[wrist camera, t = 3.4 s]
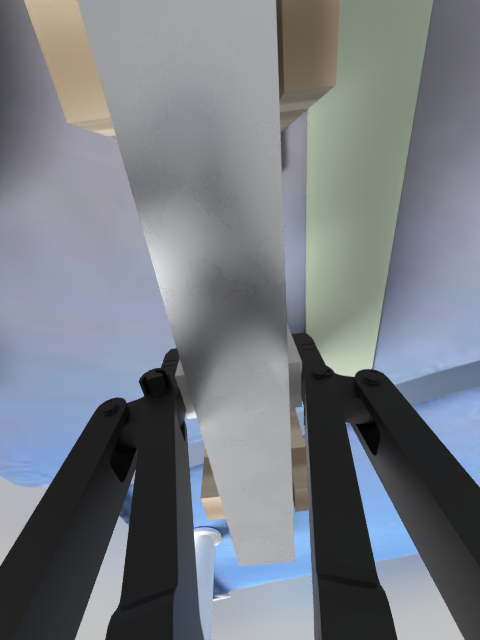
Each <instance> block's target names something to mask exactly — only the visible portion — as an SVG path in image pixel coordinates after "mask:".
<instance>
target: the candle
mask: <svg viewBox="0 0 480 640" xmlns="http://www.w3.org/2000/svg"><path fill="white" fill-rule="evenodd" d="M221 539H222V535H221V533H220V532H219V531H218V530H216V529H213V528H209V527H199V528H195V529H194V541H195V555H196V569H197V584H198V598H199V611H200V620H201V626H202V631H203V636H204V640H211V624H212V600H213V576H214V552H215V546H216V545H218V544H219V543H220V542H221Z"/></svg>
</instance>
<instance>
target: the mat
mask: <svg viewBox="0 0 480 640" xmlns="http://www.w3.org/2000/svg"><path fill="white" fill-rule="evenodd" d="M432 6H433V0H340V8H339V29H338V50H337V71H336V86H334V87H333V88H332V89H331V90H330V91H328V92H327V93H326V94H325V95H324V96H323V97H321V98H320V99H319V100H318V101H317V102H315V103H314V104H313V105H312V106H311V107H310V108H308V109H307V180H306V333H307V334H308V335H309V336H311V337H312V338H313V340H314V342H315V344H316V346H317V349H318V350H319V352H320V354H321V356H322V358H323V360H324V362H325V364H326V366H328V367H330V368H331V369H332V370H333V371H334V373H336V374H339V375H343V376H351V377H355V374H356V373H357V372H358V371H360V370H363V369H372V366H373V360H374V354H375V348H376V342H377V336H378V330H379V324H380V318H381V312H382V306H383V300H384V294H385V288H386V282H387V276H388V270H389V264H390V258H391V252H392V246H393V240H394V234H395V228H396V222H397V216H398V210H399V204H400V198H401V192H402V186H403V180H404V174H405V168H406V162H407V156H408V150H409V144H410V138H411V132H412V126H413V120H414V114H415V108H416V102H417V96H418V90H419V84H420V78H421V72H422V66H423V60H424V54H425V48H426V42H427V36H428V30H429V24H430V18H431V12H432Z"/></svg>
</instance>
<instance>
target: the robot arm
mask: <svg viewBox="0 0 480 640" xmlns="http://www.w3.org/2000/svg"><path fill="white" fill-rule="evenodd" d="M287 342H288V372H289V401H290V408H293V407H302V401H303V404H304V425H305V443H306V463H307V483H308V503H309V523H310V543H311V563H312V584H313V603H314V638H315V640H397V636H396V631H395V627H394V622H393V618H392V614H391V610H390V606H389V602H388V599H387V596H386V593H385V591H384V590H383V588H382V586H381V585H380V582H379V579H378V576H377V572H376V567H375V562H374V558H373V553H372V548H371V543H370V538H369V534H368V529H367V524H366V519H365V514H364V510H363V505H362V500H361V495H360V491H359V486H358V481H357V476H356V471H355V467H354V462H353V457H352V452H351V447H350V443H349V438H348V433H347V428H346V424H345V422H348V423H350V424H351V426H352V427H353V429H354V431H355V433H356V435H357V437H358V439H359V441H360V443H361V444H362V446H363V448H364V450H365V452H366V454H367V456H368V458H369V460H370V461H371V463H372V465H373V467H374V469H375V471H376V473H377V475H378V477H379V478H380V480H381V482H382V484H383V486H384V488H385V490H386V492H387V494H388V496H389V497H390V499H391V501H392V503H393V505H394V507H395V509H396V511H397V513H398V514H399V516H400V518H401V520H402V522H403V524H404V526H405V528H406V530H407V531H408V533H409V535H410V537H411V539H412V541H413V543H414V545H415V547H416V548H417V550H418V552H419V554H420V556H421V558H422V560H423V562H424V563H425V565H426V567H427V569H428V571H429V573H430V575H431V577H432V578H433V581H434V582H435V584H436V586H437V588H438V590H439V592H440V594H441V596H442V598H443V599H444V601H445V603H446V605H447V607H448V609H449V611H450V612H451V615H452V616H453V618H454V620H455V622H456V624H457V626H458V628H459V630H460V632H461V633H462V635H463V637H464V639H465V640H480V487H479V486H478V485H477V484H476V483H475V481H474V480H473V479H472V478H471V477H470V475H469V474H468V473H467V472H466V471H465V469H464V468H463V467H462V466H461V465H460V463H459V462H458V461H457V460H456V459H455V457H454V456H453V455H452V454H451V453H450V451H449V450H448V449H447V448H446V447H445V445H444V444H443V443H442V442H441V441H440V439H439V438H438V437H437V436H436V435H435V433H434V432H433V431H432V430H431V429H430V427H429V426H428V425H427V424H426V423H425V421H424V420H423V419H422V418H421V417H420V416H419V414H418V413H417V412H416V411H415V410H414V408H413V407H412V406H411V405H410V404H409V402H408V401H407V400H406V399H405V398H404V397H403V395H402V394H401V393H400V392H399V390H398V389H397V388H396V387H395V386H394V384H393V383H392V382H391V381H390V380H389V378H388V377H387V376H386V375H384V374H383V373H381V372H379V371H377V370H372V369H363V370H360V371H358V372H357V373H356V374H355V377H351V376H343V375H339V374H336V373H334V371H333V370H332V369H331V368H330V367H328V366H326V364H325V362H324V360H323V358H322V356H321V354H320V352H319V350H318V349H317V346H316V344H315V342H314V340H313V338H312V337H311V336H309V335H308V334H307V333H299V334H291V332H290V329H289V327H288V324H287ZM139 383H140V386H141V388H142V391H143V393H144V397H142V398H140V399H138V400H135V401H132V402H129V403H126V401H125V400H124V399H123V398H112V399H110V400H107V401H105V402H104V403H102V404H101V405H100V406H99V407H98V408H97V409H96V411H95V412H94V414H93V416H92V417H91V419H90V421H89V422H88V424H87V425H86V427H85V429H84V430H83V432H82V434H81V435H80V437H79V438H78V440H77V442H76V443H75V445H74V447H73V448H72V450H71V452H70V453H69V455H68V456H67V458H66V460H65V461H64V463H63V465H62V466H61V468H60V470H59V471H58V473H57V474H56V476H55V478H54V479H53V481H52V483H51V484H50V486H49V488H48V489H47V491H46V493H45V494H44V496H43V497H42V499H41V501H40V502H39V504H38V506H37V507H36V509H35V510H34V512H33V514H32V516H31V517H30V519H29V520H28V522H27V523H26V525H25V527H24V529H23V530H22V532H21V534H20V535H19V537H18V538H17V540H16V541H15V543H14V545H13V547H12V548H11V550H10V551H9V553H8V555H7V556H6V558H5V559H4V561H3V563H2V564H1V566H0V640H75V637H76V635H77V632H78V629H79V626H80V623H81V621H82V618H83V615H84V612H85V609H86V607H87V604H88V601H89V598H90V595H91V593H92V590H93V587H94V584H95V581H96V578H97V576H98V573H99V570H100V567H101V564H102V561H103V559H104V556H105V553H106V550H107V547H108V545H109V542H110V539H111V536H112V534H113V531H114V528H115V525H116V522H117V520H118V517H119V514H120V511H121V508H122V505H123V503H124V500H125V497H126V494H127V491H128V489H129V486H130V483H131V480H132V477H133V475H134V472H135V469H136V472H135V480H134V489H133V498H132V506H131V515H130V523H129V532H128V540H127V549H126V558H125V566H124V575H123V583H122V592H121V598H120V603H119V606H118V608H117V610H116V611H115V612H114V614H113V615H112V616H111V619H110V622H109V625H108V629H107V634H106V639H105V640H204V636H203V631H202V626H201V620H200V611H199V598H198V584H197V569H196V555H195V541H194V527H193V513H192V499H191V484H190V470H189V456H188V442H187V428H186V424H185V421H184V419H185V413H186V414H187V417H188V419H192V418H197V416H196V413H195V409H194V406H193V402H192V399H191V395H190V392H189V388H188V385H187V381H186V378H185V374H184V371H183V368H182V364H181V361H180V357H179V354H178V350H177V348H176V349H171V350H170V351H169V352H168V353H167V354H166V355H165V358H164V360H163V363H162V366H161V368H155V369H152V370H149V371H148V372H146V373H145V374H143V375H142V377H141V378H140V380H139Z"/></svg>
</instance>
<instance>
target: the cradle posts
mask: <svg viewBox="0 0 480 640" xmlns="http://www.w3.org/2000/svg"><path fill="white" fill-rule="evenodd" d="M24 2H25V5H26V8H27V10H28V13H29V16H30V19H31V22H32V25H33V27H34V30H35V33H36V36H37V39H38V41H39V44H40V47H41V50H42V53H43V56H44V58H45V61H46V64H47V67H48V70H49V72H50V75H51V78H52V81H53V84H54V87H55V89H56V92H57V95H58V98H59V101H60V103H61V106H62V109H63V112H64V115H65V118H66V120H67V123H68V124H71V125H74V126H77V127H80V128H84V129H87V130H90V131H93V132H96V133H99V134H103V135H106V136H109V137H112V138H115V139H117V138H116V134H115V131H114V127H113V124H112V120H111V117H110V113H109V110H108V106H107V103H106V99H105V96H104V93H103V89H102V86H101V82H100V79H99V75H98V72H97V68H96V65H95V61H94V58H93V54H92V51H91V47H90V44H89V40H88V37H87V33H86V30H85V26H84V23H83V19H82V16H81V12H80V9H79V6H78V2H77V0H24ZM339 8H340V0H276V17H277V46H278V76H279V106H280V132H281V131H282V130H284V129H285V128H286V127H287V126H288V125H290V124H291V123H292V122H293V121H294V120H295V119H297V118H298V117H299V116H300V115H301V114H303V113H304V112H305V111H306V110H307V109H308V108H310V107H311V106H312V105H313V104H314V103H315V102H317V101H318V100H319V99H320V98H321V97H323V96H324V95H325V94H326V93H327V92H328V91H330V90H331V89H332V88H333V87H334V86H336V71H337V50H338V29H339ZM290 431H291V461H292V490H293V502H294V507H295V512H296V511H307V510H309V503H308V483H307V463H306V446H305V443H304V439H303V436H302V432H301V429H300V425H299V421H298V418H297V414H296V410H295V407H293V408H290ZM201 501H202V504H203V507H204V509H205V512H206V515H207V518H208V520H214V519H224V518H226V517H225V514H224V510H223V507H222V503H221V500H220V496H219V493H218V489H217V486H216V482H215V479H214V475H213V472H212V468H211V465H210V461H209V458H208V455H207V451H206V448H205V456H204V467H203V478H202V489H201Z"/></svg>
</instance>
